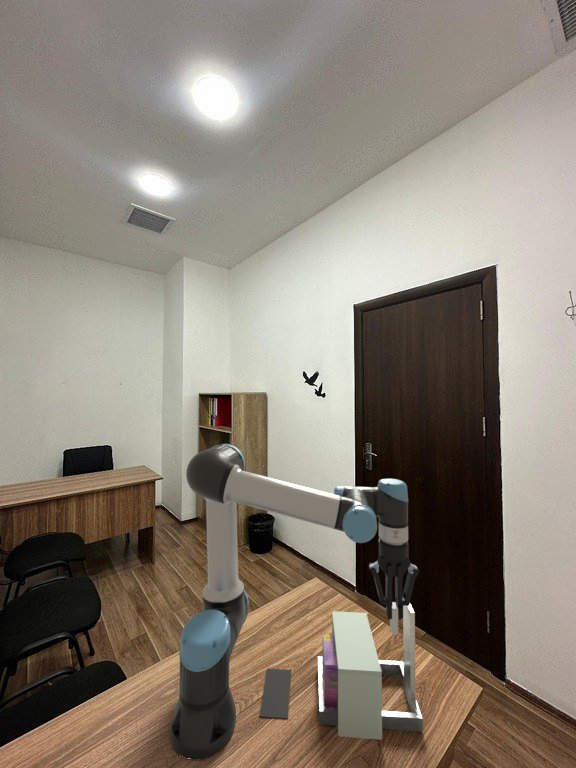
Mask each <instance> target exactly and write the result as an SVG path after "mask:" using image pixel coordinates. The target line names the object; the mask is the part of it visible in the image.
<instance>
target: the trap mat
mask: <svg viewBox="0 0 576 768" xmlns="http://www.w3.org/2000/svg"><path fill="white" fill-rule="evenodd" d="M291 676H292V670H291V669H284V668H283V669H281V668H268V667H267V668H266V673H265V679H264V685H263V693H262V698H261V703H260V711H259V718H267V719H268V718H269V719H282V720H289V711H290V710H289V707H290V692H291V681H292V680H291V678H292V677H291Z"/></svg>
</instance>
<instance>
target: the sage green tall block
mask: <svg viewBox="0 0 576 768" xmlns="http://www.w3.org/2000/svg"><path fill="white" fill-rule="evenodd" d="M331 614H332V615H331V619H332V621H331V622H332V623H331V628H332V629H331V632H332V633H331V635H334V637H335V647H336V656H337V666H338V726H337V736H338V737H340V738H341V737H342V738H343V737H344V738H352V739H353V738H354V739H355V738H356V739H366V740H378V741H379V740H381V741H383V729H382V711H383V696H382V695H383V689H382V687H383V679H382V671H381V667H380V663H379V660H380V659H379V657H378V653H377V648H376V646H375V641H374V638H373V633H372V630H371V626H370V621H369V618H368V614H367V612H357V611H353V612H352V611H338V610H337V611H336V610H335V611H332V613H331Z"/></svg>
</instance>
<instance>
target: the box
mask: <svg viewBox="0 0 576 768" xmlns="http://www.w3.org/2000/svg"><path fill="white" fill-rule="evenodd" d="M321 649H322V651H321V652H322V656H321V657H322V668H323V689H324V707H335V708H338V666H337V656H336V647H335V637H334V635H332V634H322V648H321Z"/></svg>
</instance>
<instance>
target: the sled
mask: <svg viewBox="0 0 576 768" xmlns="http://www.w3.org/2000/svg"><path fill="white" fill-rule="evenodd" d="M415 616H416V613H415V611H414V608H413V606H412V604H411V603H410V604H409V606H406V605H405V606H403V610H402V622H403V624H402V626H403V627H402V629H403V630H402V632H403V634H402V636H403V637H402V638H403V639H402V640H403V643H402V644H403V645H402V646H403V651H402V652H403V661H400V660H386V659H385V660H384V659H383V660H381V659H379V663H380V667H381V671H382V675H384V676H399V678H400V681H401V684H402V687H403V691H404V694H405V697H406V700H407V703H408V707H409V709H410V712H405V711H404V712H403V711H389V710H382V730H392V731H395V730H396V731H407V732H421V733H423V732H424V718H423V715H422V713H421V709H420V706H419V703H418V701H417V699H416V698H417V697H416V696H417V695H416V625H415V624H416V620H415V619H416V617H415ZM317 679H318V680H317V682H318V684H317V686H318V716H319V722H318V723H319V725H327V726H337V727H338V708H335V707H324V689H323V668H322V656H317Z"/></svg>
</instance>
